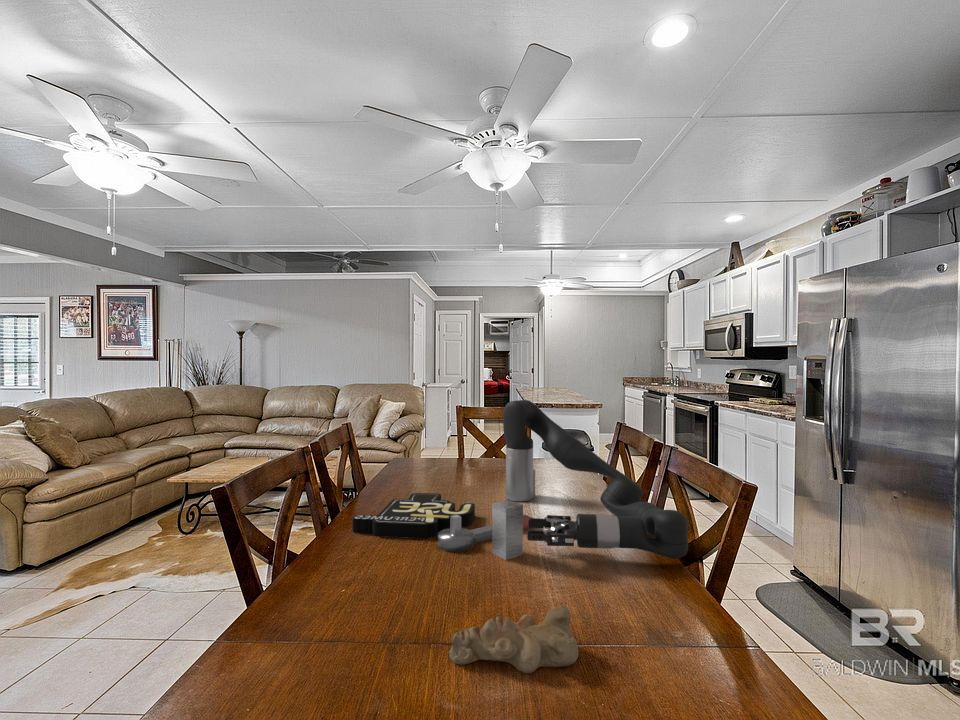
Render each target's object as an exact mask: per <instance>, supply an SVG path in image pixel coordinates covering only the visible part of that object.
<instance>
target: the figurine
mask: <svg viewBox="0 0 960 720" xmlns="http://www.w3.org/2000/svg"><path fill="white" fill-rule="evenodd" d="M570 623H571V613H570V609H569V607H568V606H564V605H563V606H562V605H560V606H556V607H555V608H552V609H550V610H548V612H547V614H546V615H545V617H544V620H543V622H542V623H541V624H536V619H535V617H534V615H532V614H524V615H522V616H521V617H520V619H519V621H517V622H514V621H513V620H511V618H509V617H508V616H505V615H504V616H500V615H499V616H496V618H493V617H491V618H490V619H488V620H487V621H486V622H485V623H484V625H483V626H482V627H478V626H471V627H470V628H466V629H465V630H460V631H457V632H455V633H453V636H452V637H451V647H450V649H449V651H448V656H449V661H450V662H451V663H452V664H455V665H460V666H464V665H469V664H472V663H474V662H477V661H478V660H479V661H480V660H482V661H483V660H484V661H493V662H504V663H507V664H510V665H512V666H513V667H515V668H516V670H518V671H519V672H521V673H524V674H533V673H534V672H535V671H536V670H537V669H539V668H546V667H547V668H564V667H568V666H571V665H573V664H574V663H575V662H576V661H577V659H578V657H579V648H578V641H577V640H576V638H575V637H574V636H573V635H572V630H571V627H570Z"/></svg>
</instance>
